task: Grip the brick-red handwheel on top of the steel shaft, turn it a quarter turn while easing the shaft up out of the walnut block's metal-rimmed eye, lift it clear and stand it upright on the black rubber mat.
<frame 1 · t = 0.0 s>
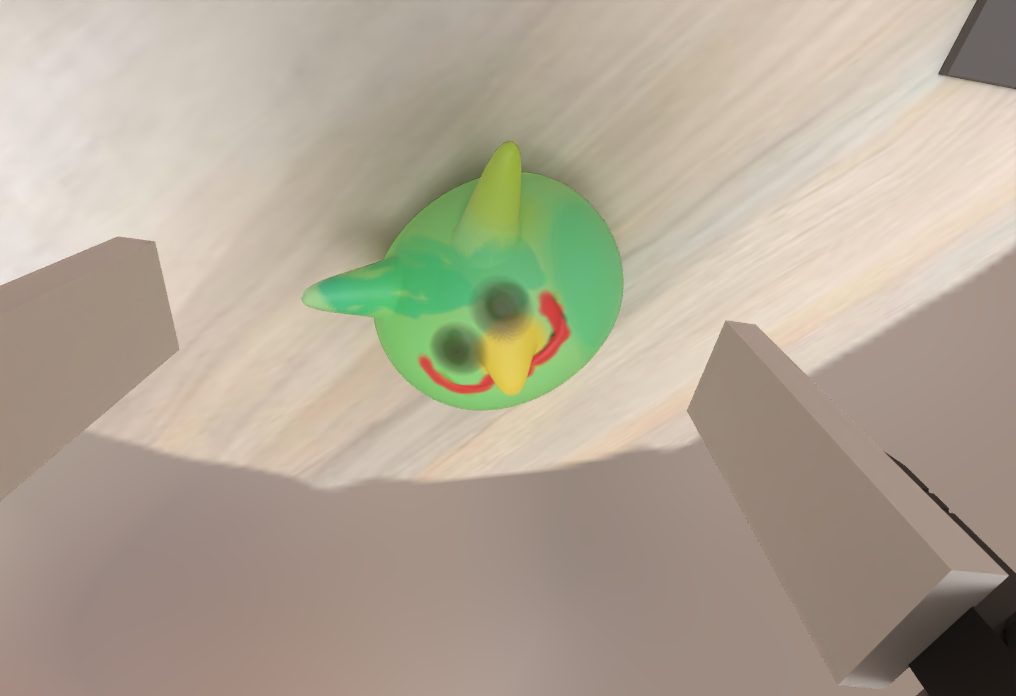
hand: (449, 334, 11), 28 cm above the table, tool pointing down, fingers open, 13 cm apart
toy bird: (493, 258, 40), on the table
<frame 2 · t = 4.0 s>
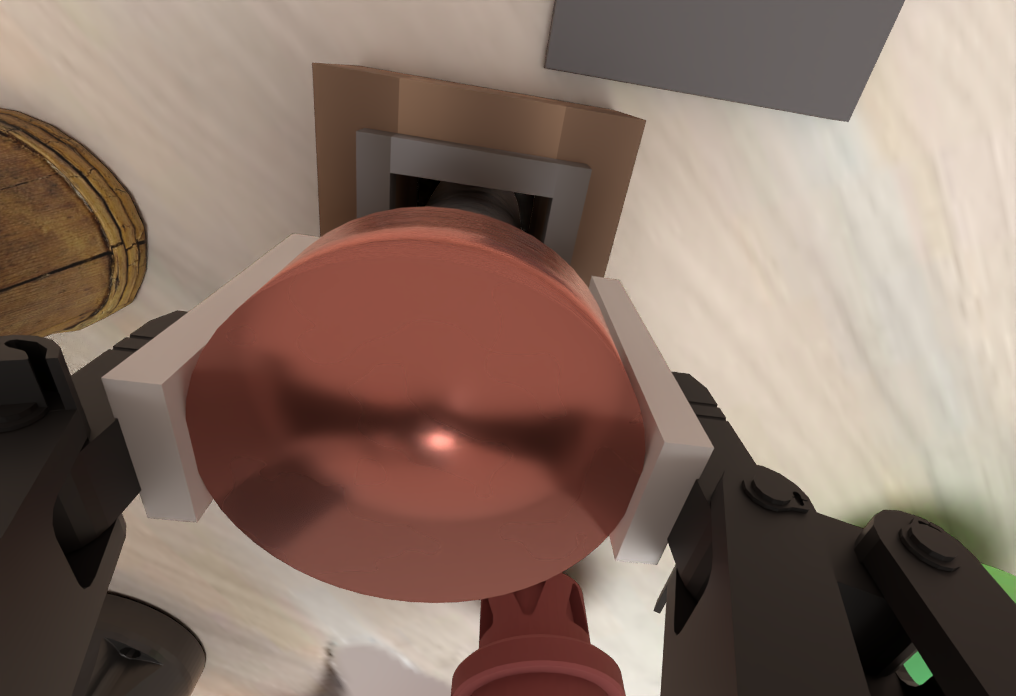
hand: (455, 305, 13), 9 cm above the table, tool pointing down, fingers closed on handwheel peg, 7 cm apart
eye block: (473, 216, 21), on the table
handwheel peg: (460, 282, 14), in the eye block, touching gripper
mechanical component: (530, 574, 34), on the table
wooden mug: (32, 257, 22), on the table
toy bird: (866, 587, 35), on the table
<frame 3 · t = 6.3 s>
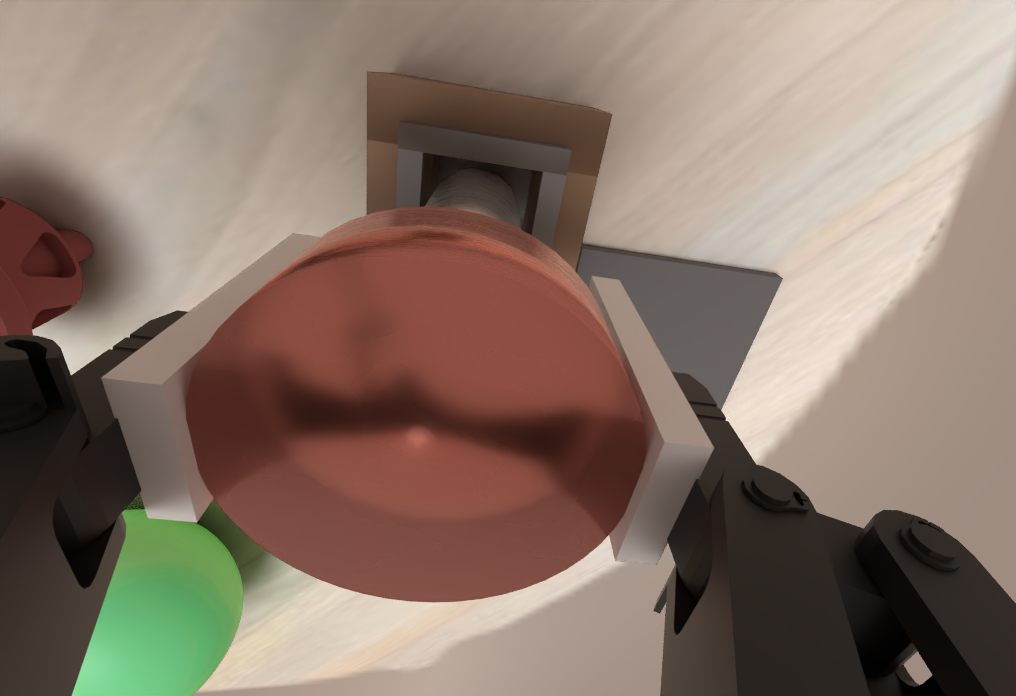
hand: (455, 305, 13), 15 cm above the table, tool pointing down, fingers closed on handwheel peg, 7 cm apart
eye block: (482, 193, 26), on the table
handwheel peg: (460, 282, 14), point 13 cm above the table, touching gripper
mechanical component: (41, 248, 27), on the table
toy bird: (165, 535, 40), on the table
rubber mat: (649, 346, 31), on the table
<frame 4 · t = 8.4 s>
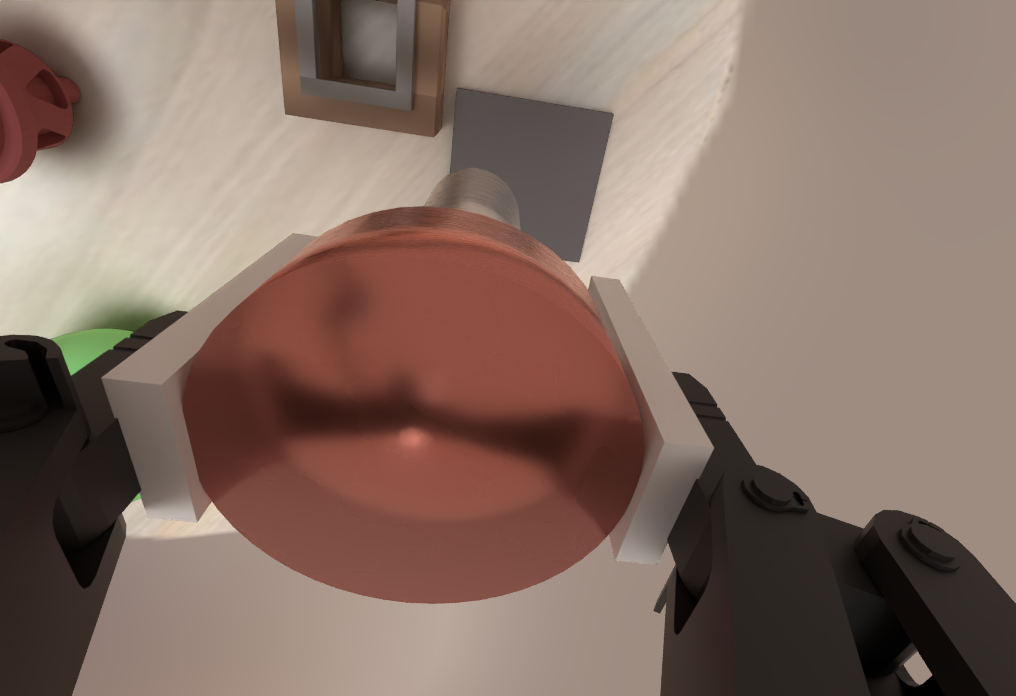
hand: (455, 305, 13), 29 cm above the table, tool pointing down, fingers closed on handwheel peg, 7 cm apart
eye block: (376, 42, 34), on the table
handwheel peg: (459, 282, 14), point 28 cm above the table, touching gripper
mechanical component: (40, 95, 36), on the table
toy bird: (148, 371, 48), on the table
rubber mat: (523, 181, 39), on the table
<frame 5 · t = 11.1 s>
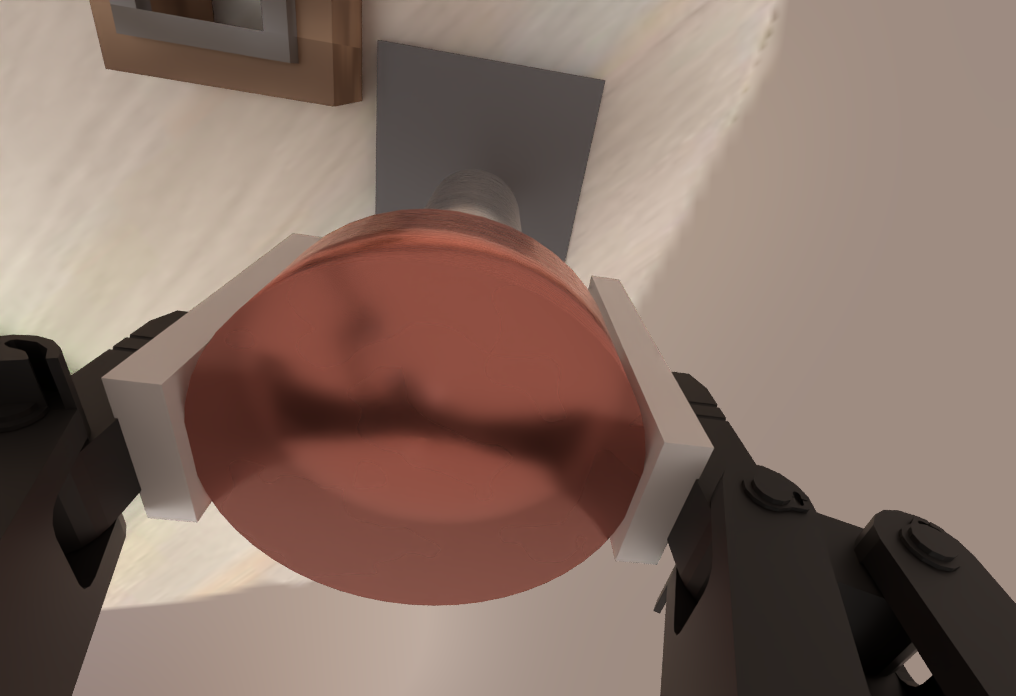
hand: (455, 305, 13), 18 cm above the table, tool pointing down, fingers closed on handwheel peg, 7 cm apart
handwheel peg: (460, 284, 14), point 16 cm above the table, touching gripper
rubber mat: (480, 176, 28), on the table
when the fingers open (11 cm above the table, at t = 13.2 s): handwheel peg drops 1 cm, resting on rubber mat.
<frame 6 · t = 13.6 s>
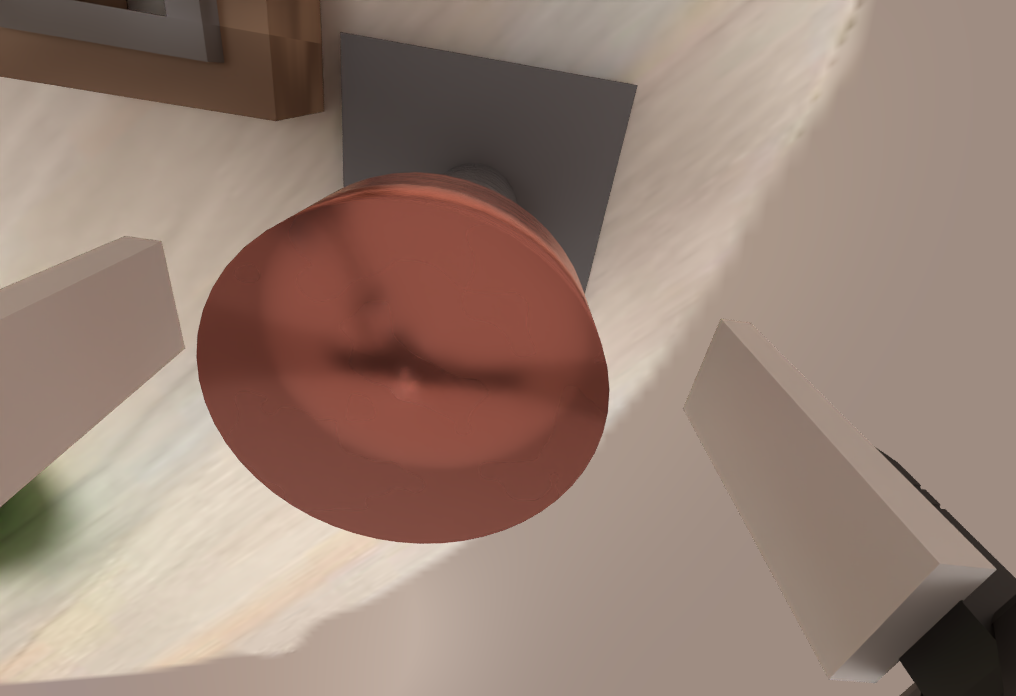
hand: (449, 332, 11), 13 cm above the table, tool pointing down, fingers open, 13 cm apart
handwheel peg: (455, 263, 15), on the rubber mat, point 9 cm above the table
rubber mat: (476, 205, 23), on the table
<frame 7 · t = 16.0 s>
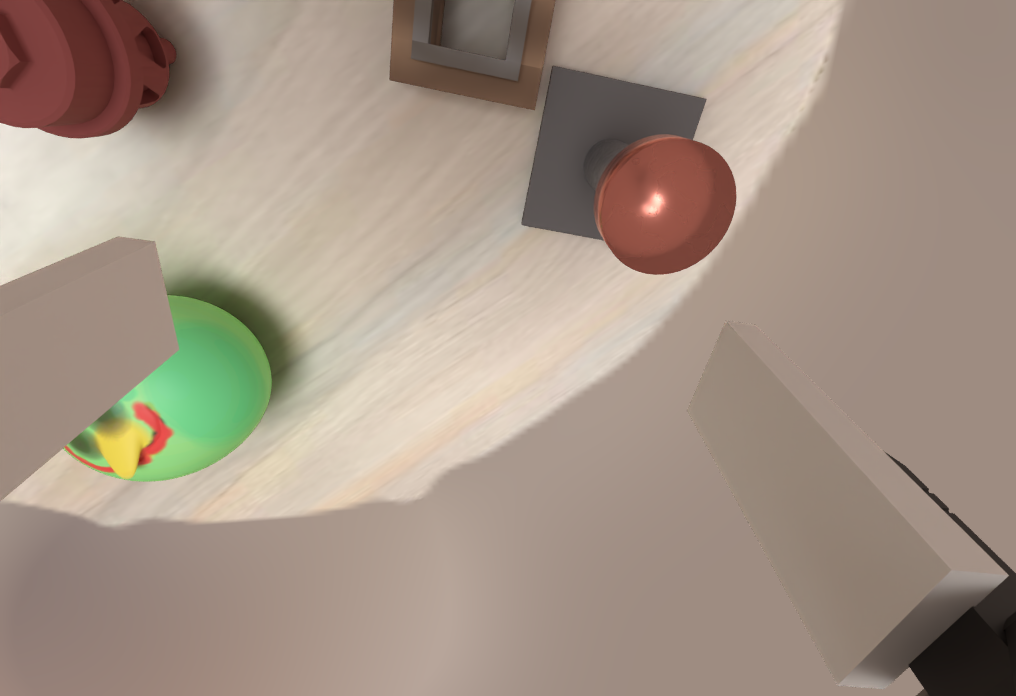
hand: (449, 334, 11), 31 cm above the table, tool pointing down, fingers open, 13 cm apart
eye block: (478, 17, 34), on the table
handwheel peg: (631, 183, 32), on the rubber mat, point 9 cm above the table
mechanical component: (135, 55, 35), on the table
toy bird: (205, 345, 48), on the table
rubber mat: (606, 164, 39), on the table
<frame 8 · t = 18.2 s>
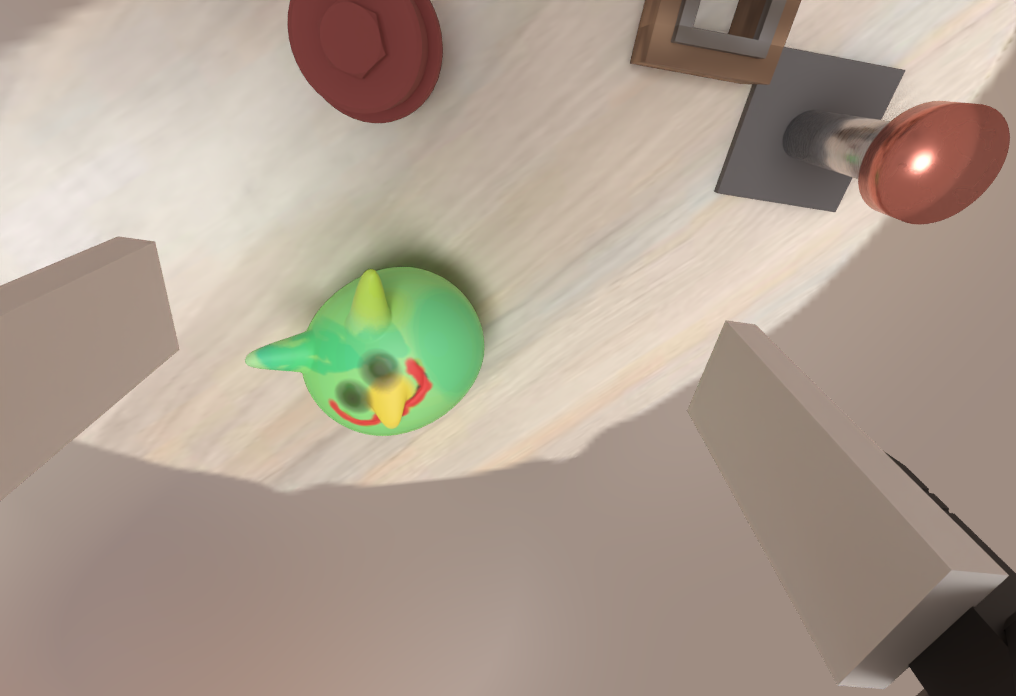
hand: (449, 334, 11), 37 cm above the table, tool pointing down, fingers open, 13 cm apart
eye block: (707, 2, 38), on the table
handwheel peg: (862, 148, 36), on the rubber mat, point 9 cm above the table
mechanical component: (392, 48, 40), on the table
toy bird: (403, 316, 52), on the table
rubber mat: (801, 134, 43), on the table
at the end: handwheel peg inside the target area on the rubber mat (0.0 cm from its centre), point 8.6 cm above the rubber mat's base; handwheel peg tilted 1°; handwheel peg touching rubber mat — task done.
